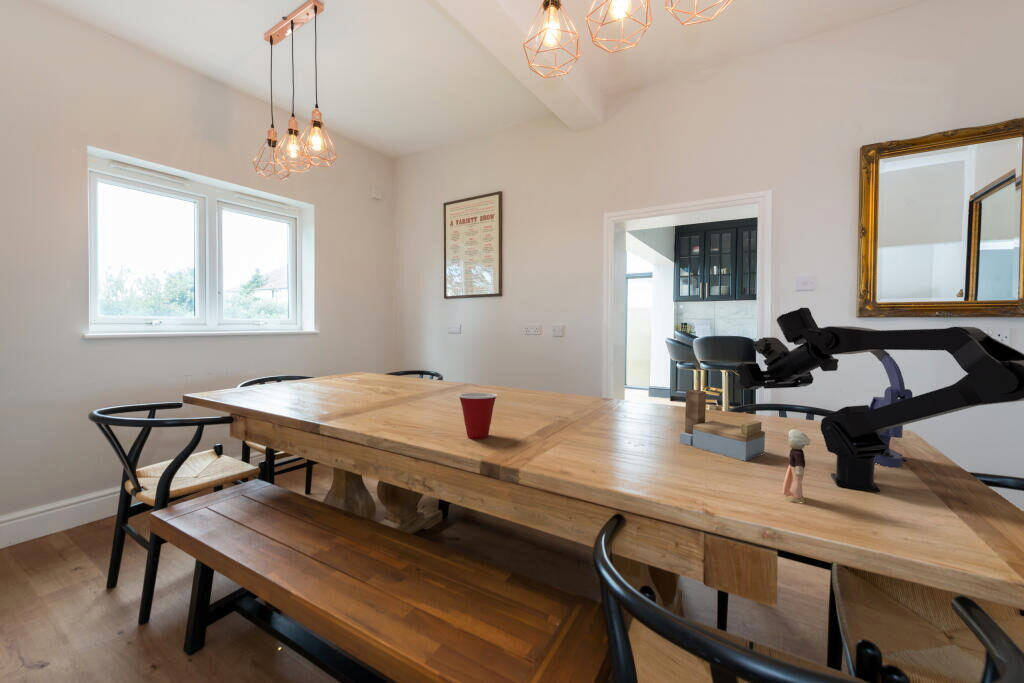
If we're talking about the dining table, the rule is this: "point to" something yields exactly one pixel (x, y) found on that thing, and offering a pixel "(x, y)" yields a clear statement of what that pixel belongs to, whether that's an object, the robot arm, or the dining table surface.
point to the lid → (732, 430)
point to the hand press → (889, 397)
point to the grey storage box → (724, 444)
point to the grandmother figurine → (795, 466)
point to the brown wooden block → (694, 409)
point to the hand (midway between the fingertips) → (749, 387)
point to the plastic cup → (477, 413)
